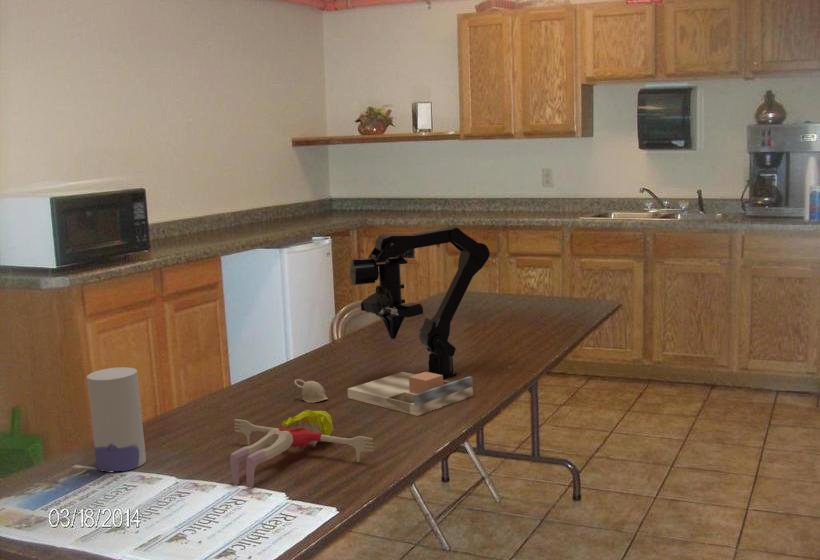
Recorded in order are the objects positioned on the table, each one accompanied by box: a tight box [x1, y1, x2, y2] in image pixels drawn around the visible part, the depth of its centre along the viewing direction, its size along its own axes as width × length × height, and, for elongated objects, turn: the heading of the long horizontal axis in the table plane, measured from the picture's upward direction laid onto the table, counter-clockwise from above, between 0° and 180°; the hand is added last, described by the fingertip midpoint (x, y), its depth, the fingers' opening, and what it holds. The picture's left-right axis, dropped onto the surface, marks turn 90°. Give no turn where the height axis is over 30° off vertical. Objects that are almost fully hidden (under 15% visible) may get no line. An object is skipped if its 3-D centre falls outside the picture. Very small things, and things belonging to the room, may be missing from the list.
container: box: [86, 366, 147, 472], centre depth 186 cm, size 10×10×20 cm
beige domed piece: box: [294, 378, 329, 404], centre depth 228 cm, size 4×8×5 cm, turn 61°
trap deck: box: [347, 371, 474, 417], centre depth 226 cm, size 20×25×5 cm
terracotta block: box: [409, 371, 444, 394], centre depth 221 cm, size 6×6×4 cm
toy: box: [229, 409, 375, 488], centre depth 188 cm, size 28×28×9 cm
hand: (393, 338), depth 240 cm, fingers closed
